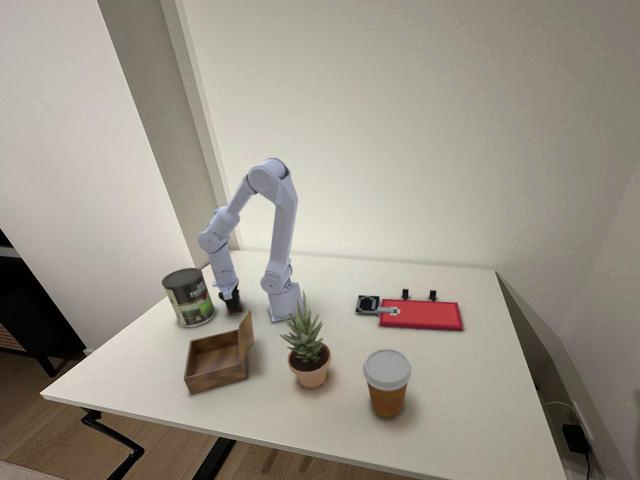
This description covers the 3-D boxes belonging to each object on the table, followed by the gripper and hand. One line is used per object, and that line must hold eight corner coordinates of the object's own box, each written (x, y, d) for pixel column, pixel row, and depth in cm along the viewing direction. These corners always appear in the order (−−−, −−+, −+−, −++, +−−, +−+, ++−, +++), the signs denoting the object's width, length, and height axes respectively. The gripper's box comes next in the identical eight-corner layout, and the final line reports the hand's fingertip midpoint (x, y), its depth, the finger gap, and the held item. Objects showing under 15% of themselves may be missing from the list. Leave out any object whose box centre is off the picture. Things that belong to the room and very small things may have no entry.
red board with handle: (359, 294, 102) (352, 325, 90) (359, 286, 101) (352, 317, 88) (455, 298, 99) (462, 331, 86) (456, 291, 97) (463, 324, 85)
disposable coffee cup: (362, 388, 71) (360, 349, 65) (404, 384, 72) (406, 344, 65) (366, 427, 63) (364, 387, 57) (414, 423, 63) (417, 382, 57)
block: (242, 304, 100) (239, 294, 98) (242, 311, 97) (239, 301, 95) (229, 307, 99) (225, 297, 97) (228, 314, 96) (225, 304, 94)
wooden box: (244, 342, 85) (239, 328, 83) (246, 378, 75) (241, 363, 72) (195, 355, 82) (189, 340, 79) (190, 394, 71) (183, 379, 69)
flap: (238, 326, 82) (240, 326, 82) (239, 361, 72) (241, 361, 72) (250, 309, 81) (251, 309, 81) (252, 342, 70) (254, 342, 71)
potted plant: (316, 402, 68) (300, 311, 56) (283, 384, 73) (262, 296, 60) (342, 370, 76) (333, 283, 63) (311, 356, 80) (297, 272, 67)
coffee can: (222, 307, 99) (209, 268, 92) (202, 329, 91) (185, 288, 83) (193, 304, 101) (178, 266, 94) (170, 325, 93) (152, 285, 85)
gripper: (209, 259, 95) (221, 296, 102) (206, 283, 83) (220, 323, 90) (234, 254, 97) (244, 291, 104) (234, 277, 85) (245, 317, 92)
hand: (234, 305), depth 97 cm, fingers closed on block, 4 cm apart
